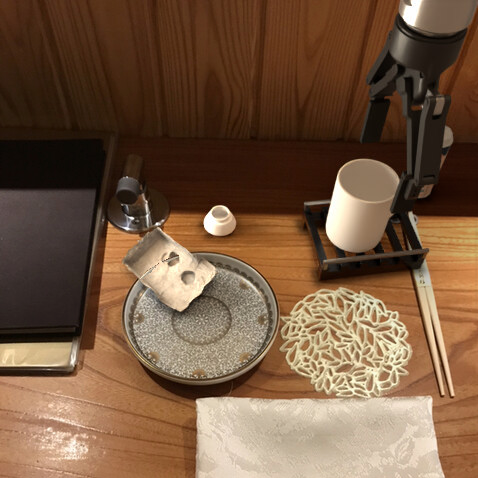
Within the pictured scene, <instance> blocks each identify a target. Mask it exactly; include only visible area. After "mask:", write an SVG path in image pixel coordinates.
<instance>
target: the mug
mask: <svg viewBox="0 0 478 478" xmlns="http://www.w3.org/2000/svg"><path fill="white" fill-rule="evenodd" d="M399 181H400V177H399V175H398V173H397V172H396V171H395V170H394V169H393V168H392V167H391V166H389V165H388V164H386V163H384V162H382V161H379V160H376V159H370V158H358V159H353V160H350V161H347V162H346V163H345V164H344V165H343V166H341V167H340V168H339V170H338V172H337V176H336V180H335V184H334V188H333V191H332V196H331V199H332V200H331V204H329V208H330V209H329V213H328V217H327V222H326V227H325V231H326V232H325V233H326V235H327V238H328V240H330V243H331V242H332V243H333V244H334V245H336V246H337V247H338V248H340V249H342V250H344V251H345V252H348V253H352V254H353V253H354V254H355V253H361V252H365V253H366V252H368V251H370V250H373V248H374V247H375V246H376V245H377V244H378V243H379V242H380V241H381V240H382V238H383V236H384V233H385V228H386V225H387V223H388V220H389V218H390V217H391V216H392V215H393V214H391V212H390V207H391V204H392V201H393V198H394V195H395V193H396V190H397V187H398V184H399ZM332 243H331V244H332Z"/></svg>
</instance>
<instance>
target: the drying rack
mask: <svg viewBox="0 0 478 478" xmlns="http://www.w3.org/2000/svg"><path fill="white" fill-rule="evenodd" d="M331 200H332V198H328V199H320V200H319V199H318V200H308V201H304V202H303V209H302V215H301V219H300V223H301V226H302V229H303V230H307V232H308V235H309V239H310V242H311V244H312V248H313V250H314V254H315V257H316V259H317V263H318V266H317V271H316V276H317V278H318V281H319V282H323V281H331V280H339V279H340V280H341V279H347V278H355V277H364V276H373V275H381V274H389V273H390V274H391V273H399V272H406V271H414V270H421V269H422V266H423V264H424V262H425V260H426V258H427V257H428V256H427V255H428V253H430V248H429V247H425V248H423V246H422V244H421V241H420V240H419V237H418V235H417V233H416V231H415V228H414V227H413V224H412V221H411V220H410V217H409V215H408V212H404V213H396V214H393V215H392V216H391V217H390V218H389V220H388V223H387V225H386V228H385V231H384V233H385V235H386V238H387V240H388V243H389V245H390V248H391V250H392V251H390V252H385V250H384V247H383V244H382V242H381V240H380V242H379V243H378V244H377V245H376V246H375V247H374V248H372V251H373V253H372V254H366V252H361V253H354V255H355V256H347V254H346V251H345V250H342V249H340V248H338V247H337V246H336V245H334V244H333V243H332V242H331V241H330V243H331V246H332V249H333V252H334V255H335V257H336V258H329V259H328V257H327V254H326V251H325V248H324V244H323V242H322V238H321V235H320V233H319V230H318V228H326V222H327V217H328V213H329V209H330V205H331ZM325 205H327V206H325ZM328 205H329V206H328ZM312 206H321V208H320V211H312V209H311V208H310V207H312ZM393 220H398V221H399V224H400V226H401V228H402V232H403V233H404V236H405V238H406V240H407V242H408V244H409V247H410V249H408V250H407V249H406V250H404V248H403V245H402V242H401V240H400V238H399V236H398V233H397V231H396V228H395V225H394V223H393Z"/></svg>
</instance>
